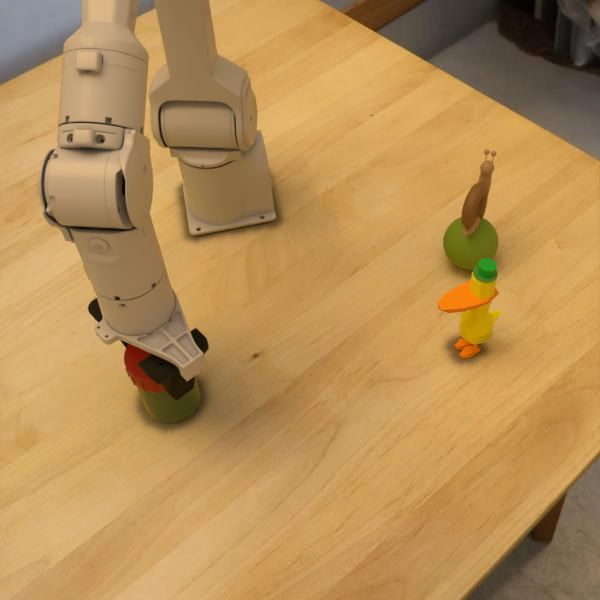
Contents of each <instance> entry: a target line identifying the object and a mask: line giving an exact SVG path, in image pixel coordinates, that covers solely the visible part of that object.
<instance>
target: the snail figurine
mask: <svg viewBox="0 0 600 600" xmlns="http://www.w3.org/2000/svg"><path fill="white" fill-rule="evenodd" d="M483 154H484V155H485V159H484V161H483V162H482V163H481V164H480V168H479V169H480V172H479V177H478V181H477V182H476V183H474V184H473V185H472V186H471V187H470V189H469V191H468V193H467V194H466V196H465V199H464V201H463V205H462V209H461V216H460V217H458V218H456V219H454V220H453V221H452V222H451V223H450V224H449V225H448V226H447V228H446V230H445V232H444V235H443V239H442V247H443V250H444V251H443V252H444V253H445V255H446V257H447V259H448V260H449V261H450V262H451V263H452V264H453V265H455V266H457V268H460V269H464V270H473V268H474V267H475V266H476V265H478V263H479V261H480V260H481V259H483V258H490V259H492V260H494V257H495V256H496V254H497V252H498V248H499V236H498V232H497V230H496V228H495V227H494V225H493V224H492V222H490V221H489V220H488V219H486V218H484V216H485V214H486V209H487V204H488V198H489V194H490V190H491V186H492V175H493V173H494V170H495V165H494V157H496V156H497V151H496V150H492V151H490V150H489V149H488V148H486V149H484V150H483ZM488 155H490V156H491V157H492V159H491V160H489V159H488V160H487V158H488Z"/></svg>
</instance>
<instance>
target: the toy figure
mask: <svg viewBox="0 0 600 600" xmlns="http://www.w3.org/2000/svg"><path fill="white" fill-rule="evenodd" d="M497 268H498V265H497V262H496V260H494V259H490V258H483V259H481V260H480V261H479V263H478V265H476V266H475V267H474V268H473V269H472V272H471V276H470V280H468V281H465V282H464V283H461V284H459V285H456V286H455V287H453V288H451V289H449V290H448V291H447V292H446V293H444V294H443V295H442V296H441V297H440V299H439V300H438V301H437V303H436V305H437V308H438V310H439V311H442V312H444V313H446V314H456V313H461V315H460V316H459V318H460V319H459V326H458V327H459V335H460V337H462V338H459V339H458V340H457V342H456V343H454V347H455V350H456V351H459V353H458V355H459V356H460V357H461V359H469V358H471V357H473V356H475V355H476V354H479V352H480V351H481V348H480V347H479V344H484V343H486V342H487V341H489V340H491V339H492V337H493V334H494V331H493V330H494V325H495V324H496V321H498V318H499V316H501V314H502V312H503V309H497V310H489V309H490V307H491V304H492V301H493V300H494V299H495V298H497V296H499V295H500V292H499V290H498V289H497V287H496V286H497V285H496V284H497V278H498V275H499V274H498V273H499V272H498V270H497Z"/></svg>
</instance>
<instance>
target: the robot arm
mask: <svg viewBox="0 0 600 600" xmlns="http://www.w3.org/2000/svg"><path fill="white" fill-rule="evenodd" d="M153 2H154V7H155V12H156V16H157V21H158V26H159V31H160V37H161V40H162V41H161V42H162V46H163V51H164V56H165V61H166V63H165V64H163V65H161V66H160V67H159V68H158V69H157V70H156V71H155V73H154V75H153V77H152V79H151V83H150V85H149V88H148V79H149V78H148V76H149V62H150V55H149V52H148V50H147V48H145V46H144V45H143V44H142V43H141V41H140V40H139V39H138V38H137V36H136V33H135V32H136V31H135V30H136V23H137V17H138V10H139V4H140V0H81V25H80V27H79V28H78V29H77V30H76V31H75V32H74V33H73V34H71V35H70V36H69V37H68V38H67V39H66V40H65V41H64V44H63V47H62V48H63V49H62V63H61V64H62V65H61V79H60V92H59V107H58V119H57V135H56V144H57V146H56V147H55V148H51V149H49V150H48V151H47V152H46V154H45V155H44V157H43V159H42V162H41V164H40V165H41V166H40V170H39V179H38V180H39V181H38V189H39V197H40V201H41V205H42V216H43V218H44V220H45V221H46V223H47V224H48V225H49V226H50V227H53V228H55V229H58V230H60V232H61V234H62V236H63V239H64V241H66V242H70V243H72V244H74V245H75V247H76V249H77V252H78V255H79V257H80V259H81V261H82V267H83V269H84V271H85V274H86V276H87V279H88V280H89V281H90V283H91V286H92V288H93V289H92V290H93V291H94V293H95V296H96V297H95V298H94V299H92V300H91V301H90V302H89V303H88V306H87V311H88V313H89V314H90V315H91V316H92V318H93V319H94V320H95V321H96V324H94V325H93V326H94V327H93V330H94V333H95V335H96V336H97V337H98V339H100V341H101V342H102V343H103V344H105V345H106V346H107V345H109V346H110V345H112V344H114V343H116V342H117V341H120V342H121V344H122V345H123V346H124V348H125V349H126V347H127V345H128V344H131V345H133V346H136V347H138V348H140V349H142V350H144V351H147V352H149V353H151V355H150V356H148V357H147V358H145V359H144V360H142V361H141V362H140V363H138V365H139V367H140V368H141V369H142V370H143V371H144V372H145V373H146V374H147V376H148V377H149V378H150V379H152V380H153V381H154V382H156V383H157V384H162V386H163V387H164V389H165V390H166V392H167V393H168V394H169V395H170V396H171V397H172V398H173V399H174V400H178V399H180V398H181V397H182V396H184V395H185V394H187V393H188V392H189V391H191V390H192V389H193V388H194V383H195V378H196V376H198V375H199V374H200V373H201V372H203V371H205V369H206V368H207V367H208V365H207V361H206V357H205V354H206V353H207V352H208V351H209V349H210V345H209V341H208V338H207V337H206V336H205V335H204V334H203V333H202V332H201V331H200V330H199V329H198V328H197V327H195V328H193V329H192V330H190V327H189V325H188V322H187V319H186V317H185V314H184V311H183V309H182V306H181V303H180V301H179V298H178V296H177V293H176V291H175V290H174V288H173V287H172V284H171V280H170V278H169V274H168V270H167V267H166V263H165V260H164V257H163V253H162V250H161V247H160V243H159V240H158V236H157V233H156V229H155V226H154V223H153V219H152V216H151V210H152V205H153V195H154V172H153V164H152V158H151V140H150V138H148V137H147V136H146V135H145V124H146V123H145V120H146V119H145V118H146V108H147V107H146V106H147V96H148V100H149V101H148V102H149V119H150V120H149V121H150V122H149V123H150V129H151V135H152V137H153V139H154V140H155V142H156V143H157V145H158V146H159V147H160V148H162V149H168V150H169V154H170V157H171V158H176V159H177V163H178V167H179V171H180V174H181V178H182V179H181V180H182V182H183V185H182V191H183V199H184V205H185V211H186V218H187V224H188V230H189V234H190V235H191V236H192V237H195V236H201V235H205V234H210V233H217V232H221V231H226V230H232V229H233V230H234V229H238V228H242V227H249V226H253V225H259V224H264V223H269V222H273V221H275V220H276V219H277V215H276V210H275V203H274V195H273V190H274V182H273V178H272V173H271V172H270V166H269V160H268V155H267V150H266V149H267V148H266V144H265V140H264V136H263V133H262V130H261V129H258V103H257V97H256V94H255V93H254V90H253V87H252V82H251V78H250V77H249V72H248V70H247V69H245V68H244V67H242V66H240V65H238V64H237V63H235V62H233V61H231V60H230V59H228V58H226V57H224V56H223V55H220V54H219V53H218V49H217V43H216V36H215V29H214V21H213V17H212V16H213V15H212V9H211V3H210V0H153ZM147 92H148V94H147Z"/></svg>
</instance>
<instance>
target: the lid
mask: <svg viewBox="0 0 600 600" xmlns="http://www.w3.org/2000/svg"><path fill="white" fill-rule="evenodd" d="M150 355H151V353H149V352H147V351H144V350H142V349H140V348H138V347H136V346H133V345H131V344H128V345H127V347H126V348H125V350H124V354H123V364H124V367H125V368H124V369H125V371H126V374H127V376H128V377H129V378H130V380H131V382H132V384H133V386H136V388H137V387H139V388H140V389H142V390H144V391H148V392H155V393H158V392H165V391H166V390H165V389H164V387H163V386H162V384H157V383H156V382H154V381H153V380H152V379H150V378H149V377H148V376H147V374H146V373H145V372H144V371H143V370H142V369H141V368H140V367H139V365H138V363H140V362H141V361H142V360H144V359H145V358H147V357H148V356H150Z"/></svg>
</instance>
